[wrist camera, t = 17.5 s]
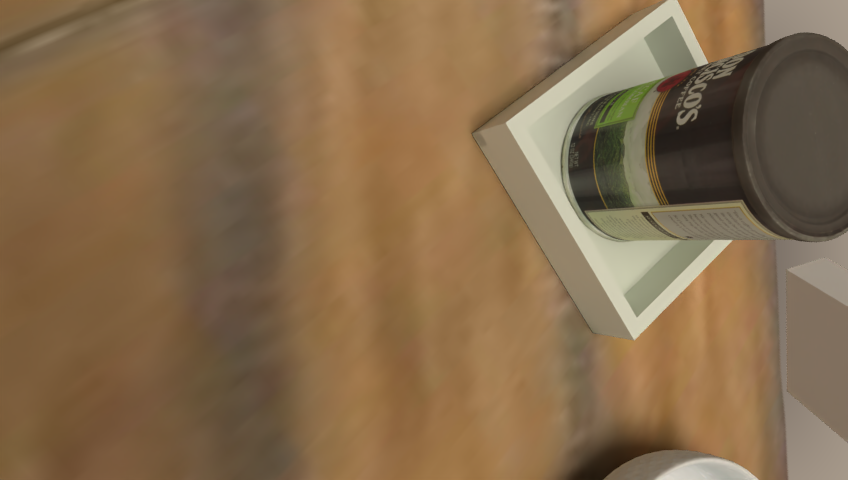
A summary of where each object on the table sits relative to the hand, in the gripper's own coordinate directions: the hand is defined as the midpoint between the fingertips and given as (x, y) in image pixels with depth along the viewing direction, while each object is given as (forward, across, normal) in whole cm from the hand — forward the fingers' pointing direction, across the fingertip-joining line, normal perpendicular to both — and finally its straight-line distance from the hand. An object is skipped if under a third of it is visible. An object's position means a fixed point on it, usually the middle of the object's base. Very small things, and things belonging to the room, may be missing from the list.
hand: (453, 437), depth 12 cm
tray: (+32, +17, -10) cm, 38 cm away
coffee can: (+32, +17, -9) cm, 37 cm away
